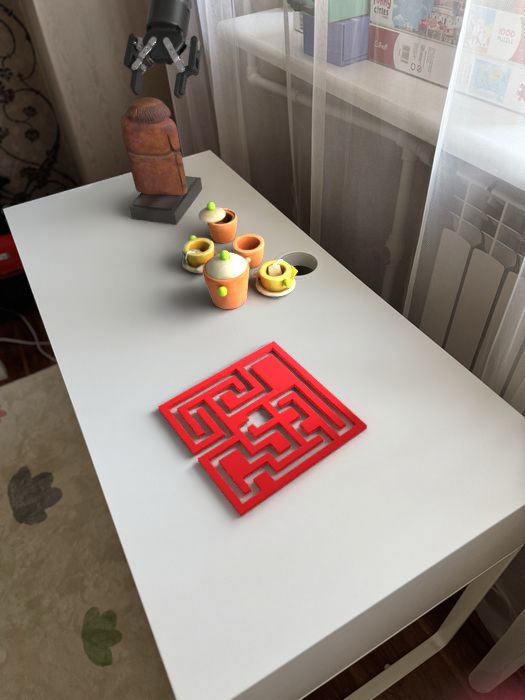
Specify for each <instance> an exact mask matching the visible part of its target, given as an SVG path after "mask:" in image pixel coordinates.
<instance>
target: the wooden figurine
mask: <svg viewBox="0 0 525 700" xmlns="http://www.w3.org/2000/svg"><path fill="white" fill-rule="evenodd" d="M171 116H172V113H171V110H170V108H169V107H168V106H167V105H166V104H165V102H163V101H162V100H160V99H158V98H156V97H152V96H151V97H150V96H149V97H148V96H146V97H141V98H137V99H136V100H134V101H133V102H131V103H130V104H129V107H128V108H127V109H126V112H125V113H123V114H122V115H121V116H120V130H121V136H122V141H123V144H124V148H125V153H126V155H127V160H128V164H129V168H130V173H131V176H132V180H133V185H134V187H135V190H136V191H137V192H138V193H139V194H140V193H144V194H153V195H157V194H158V195H184V194H186V193H187V185H186V178H185V176H186V173H185V172H186V171H185V166H184V160H183V155H182V152H181V144H180V138H179V133H178V127H177V125H176V123H175V122H174V120H173V119H171V118H170V117H171Z"/></svg>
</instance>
